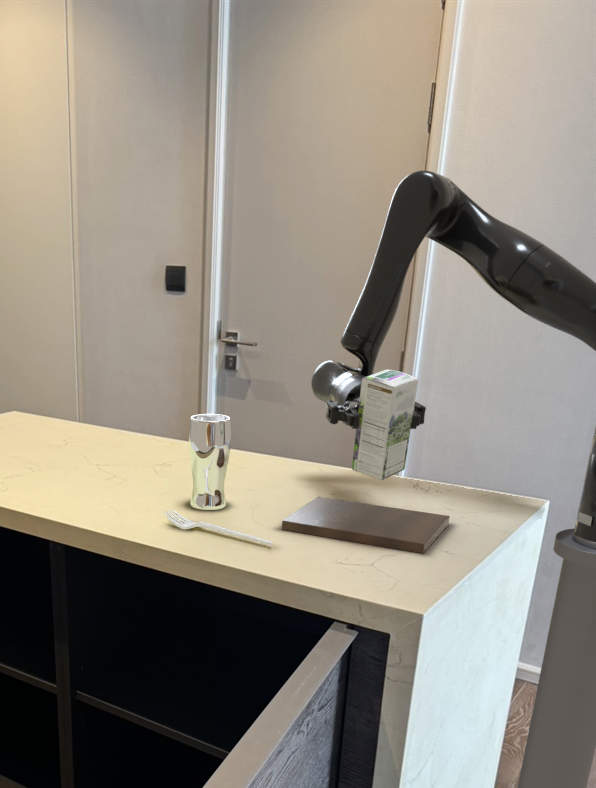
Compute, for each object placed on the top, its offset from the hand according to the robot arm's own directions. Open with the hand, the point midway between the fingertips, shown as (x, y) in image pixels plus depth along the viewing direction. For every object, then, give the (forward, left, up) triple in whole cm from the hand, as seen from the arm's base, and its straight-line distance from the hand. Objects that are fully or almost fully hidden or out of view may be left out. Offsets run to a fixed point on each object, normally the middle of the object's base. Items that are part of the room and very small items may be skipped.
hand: (385, 421), depth 125 cm
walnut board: (+3, -4, -18) cm, 18 cm away
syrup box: (+1, -2, -8) cm, 8 cm away
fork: (+21, +11, -18) cm, 30 cm away
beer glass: (+30, -2, -18) cm, 35 cm away
